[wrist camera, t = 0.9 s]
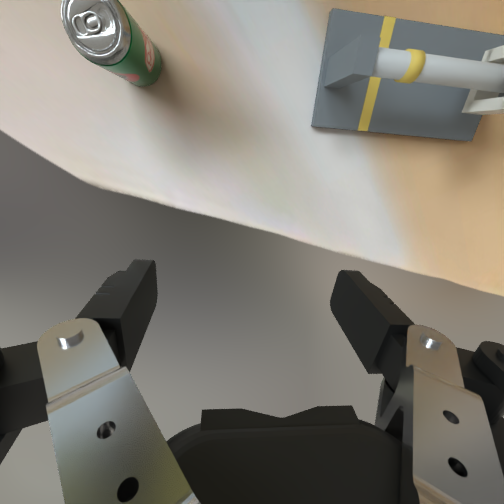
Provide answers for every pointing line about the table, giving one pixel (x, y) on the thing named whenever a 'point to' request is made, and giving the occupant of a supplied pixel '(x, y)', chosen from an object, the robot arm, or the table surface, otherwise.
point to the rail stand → (402, 76)
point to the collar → (486, 100)
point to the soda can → (111, 39)
